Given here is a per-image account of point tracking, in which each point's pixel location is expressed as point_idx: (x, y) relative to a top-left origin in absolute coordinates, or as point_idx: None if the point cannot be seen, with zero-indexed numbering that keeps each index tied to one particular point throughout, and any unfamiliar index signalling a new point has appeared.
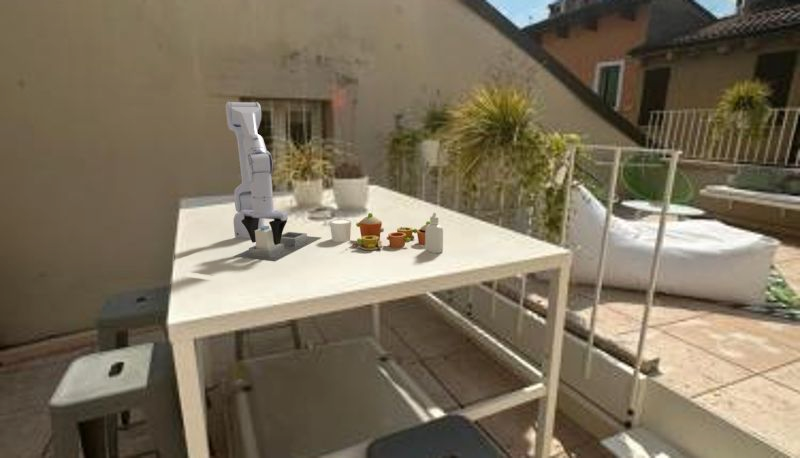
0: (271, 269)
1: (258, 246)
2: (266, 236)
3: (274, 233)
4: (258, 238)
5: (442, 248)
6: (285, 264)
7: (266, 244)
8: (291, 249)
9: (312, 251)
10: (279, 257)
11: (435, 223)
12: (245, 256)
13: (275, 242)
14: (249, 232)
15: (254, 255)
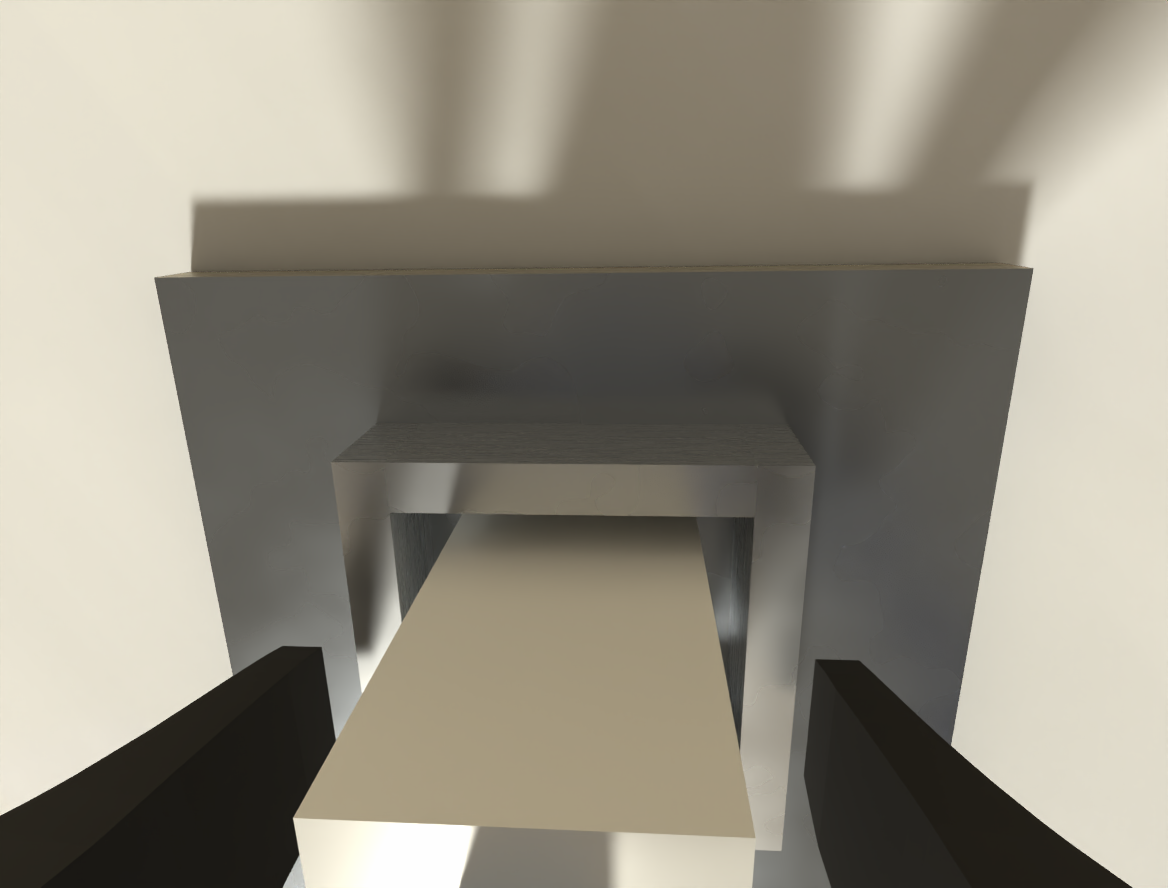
0: (79, 56)
1: (651, 570)
2: (366, 709)
3: (83, 800)
4: (631, 669)
5: None
6: (78, 339)
7: (446, 596)
8: None
9: None
10: (238, 465)
11: None
12: (800, 335)
13: (251, 664)
14: (978, 807)
15: (676, 423)
